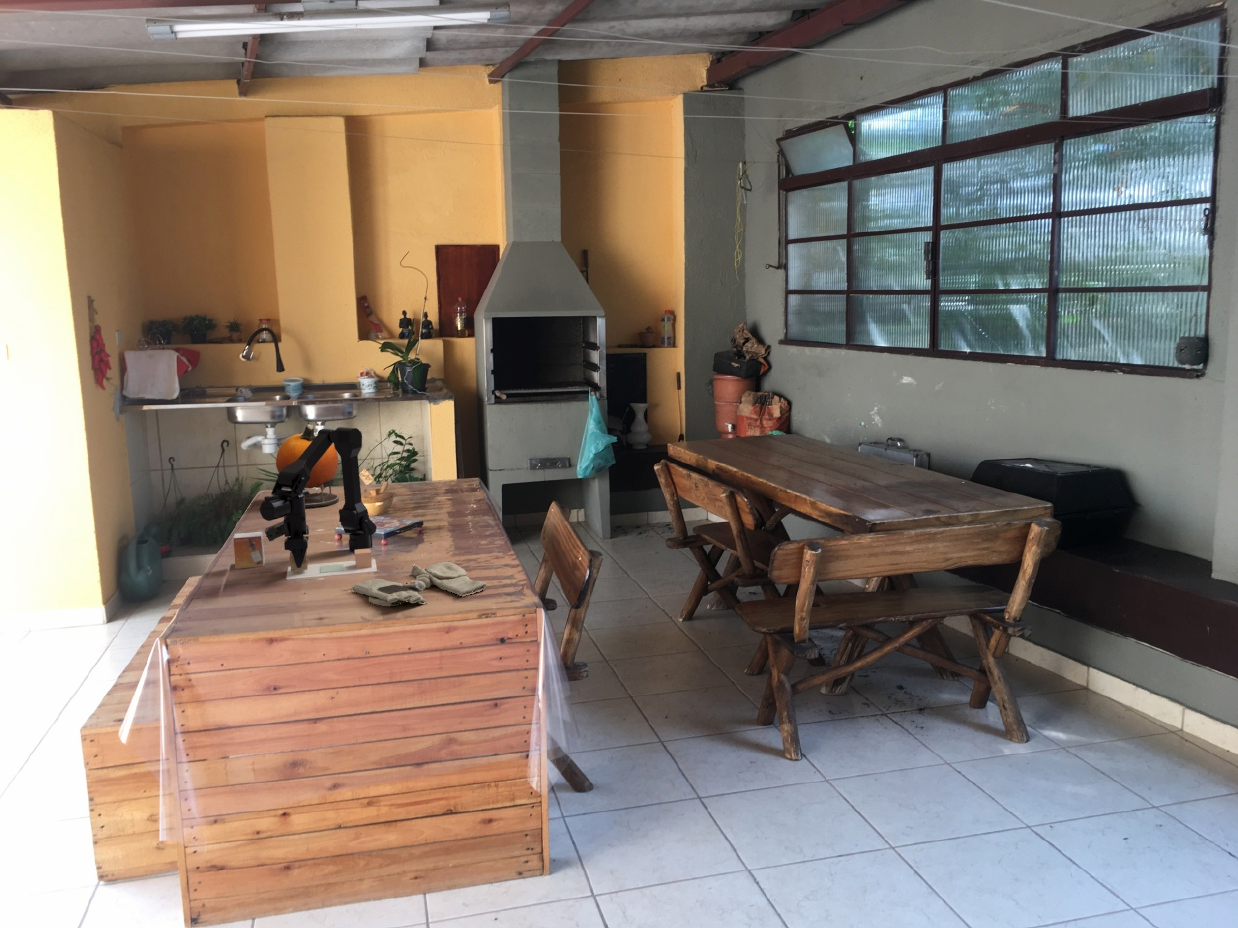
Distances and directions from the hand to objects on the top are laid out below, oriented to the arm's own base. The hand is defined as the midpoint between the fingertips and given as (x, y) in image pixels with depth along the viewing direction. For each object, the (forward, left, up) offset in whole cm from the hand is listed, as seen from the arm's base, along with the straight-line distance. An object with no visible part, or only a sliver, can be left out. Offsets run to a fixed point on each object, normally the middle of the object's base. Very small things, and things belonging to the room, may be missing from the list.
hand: (299, 565), depth 297 cm
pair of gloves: (-10, +40, -4) cm, 41 cm away
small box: (+4, -18, -3) cm, 19 cm away
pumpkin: (-60, -75, -3) cm, 97 cm away
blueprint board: (-7, +6, -3) cm, 10 cm away
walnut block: (0, 0, -1) cm, 1 cm away
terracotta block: (-14, +11, -2) cm, 18 cm away
